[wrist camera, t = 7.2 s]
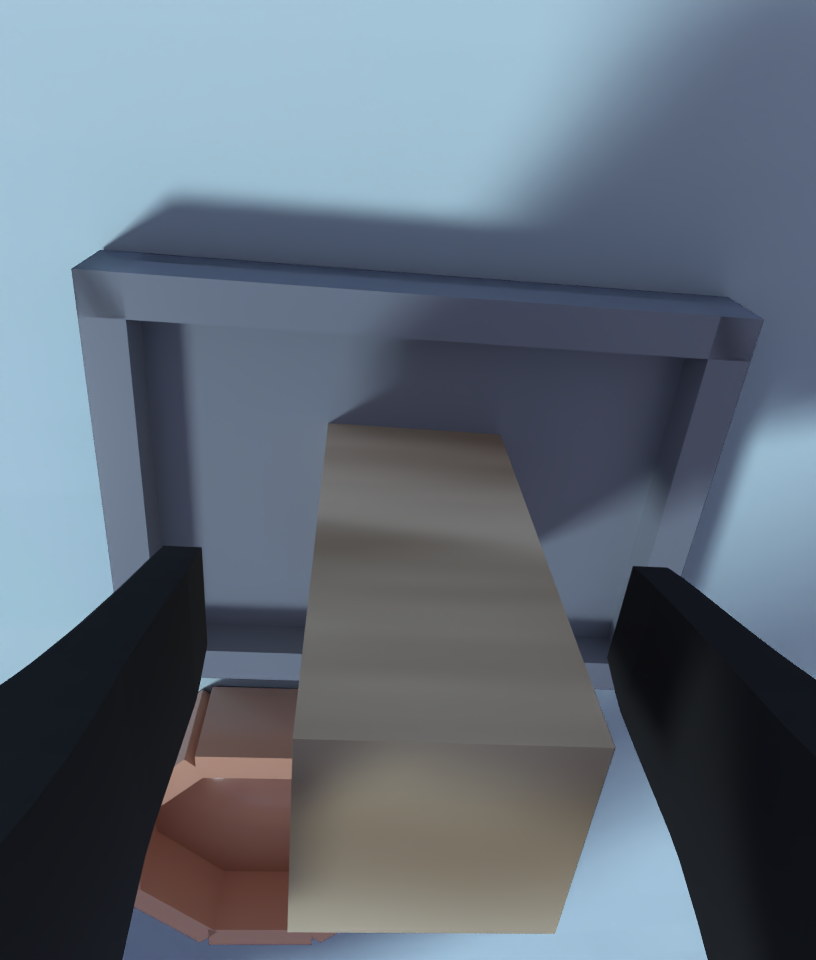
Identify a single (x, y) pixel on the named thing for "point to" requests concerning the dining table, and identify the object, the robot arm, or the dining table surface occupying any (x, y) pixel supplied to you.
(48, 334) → the dining table surface
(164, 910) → the terracotta octagonal bowl
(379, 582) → the beech peg
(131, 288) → the slate tray
